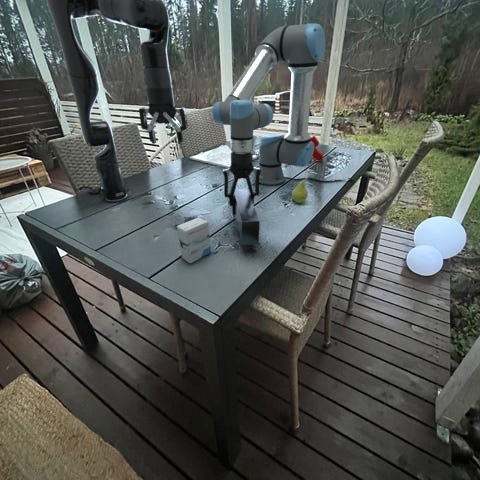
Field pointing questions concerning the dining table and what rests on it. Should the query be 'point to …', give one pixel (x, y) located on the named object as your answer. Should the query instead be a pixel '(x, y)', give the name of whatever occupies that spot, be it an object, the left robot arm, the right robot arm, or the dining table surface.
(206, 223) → the ink box
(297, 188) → the fruit
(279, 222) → the dining table surface
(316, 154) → the toy gun
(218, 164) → the relief map
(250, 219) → the bar
